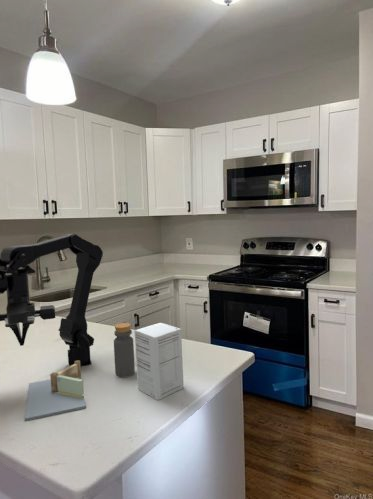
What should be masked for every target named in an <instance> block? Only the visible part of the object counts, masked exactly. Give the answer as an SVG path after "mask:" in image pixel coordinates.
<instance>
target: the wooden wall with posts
mask: <svg viewBox="0 0 373 499" xmlns="http://www.w3.org/2000/svg"><path fill="white" fill-rule="evenodd" d="M81 368H82V366H81V367H80V361H79V360H77V361H75V364H73V365H71V366H70V365H69V366H68V367H66V368H64V369H62V370H61V371H59V372H52V373H50V375H49V376H50V378H49V379H51V391H52V392H57V391H58V387H57V376H59V375H62V376H67V377H72V378H78V377H80V376H81V377H80V379H81V380H82V371H81V370H82V369H81Z"/></svg>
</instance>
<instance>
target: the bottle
mask: <svg viewBox="0 0 373 499" xmlns="http://www.w3.org/2000/svg"><path fill="white" fill-rule="evenodd" d="M131 326H132V325H131V323H128V322H122V323H121V322H120V323H117V324H115V325H114V328H115V330H114V336H115V338H114V339H113V352H114V353H113V354H114V372H115V376H116V377H118V378H128V377H131V376H133V375H134V374H136V372H135V371H136V368H135V367H136V365H135V364H136V363H135V348H134V347H135V345H134V338H133V337H132V336H131V335H132V334H133V333H132V331H133V330H132V329H131Z"/></svg>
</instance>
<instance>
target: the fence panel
mask: <svg viewBox="0 0 373 499" xmlns="http://www.w3.org/2000/svg"><path fill="white" fill-rule="evenodd" d="M57 387H58V391H61V392H65V393H70V394H74V395H78V396H82V395H84V394H85V389H84V387H85V386H84V379H82V378H81V379H77V378H72V377H67V376H62V375H59V376H57ZM84 396H85V395H84Z"/></svg>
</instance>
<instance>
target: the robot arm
mask: <svg viewBox="0 0 373 499" xmlns="http://www.w3.org/2000/svg"><path fill="white" fill-rule="evenodd" d="M66 249H68V250H69V251H70V252H71V254H74V255H76V258H75V262H76V265H77V274H76V275H77V276H76V279H75V280H76V281H75V285H74V290H73V295H72V300H71V304H70V309H69V313H68V315H67V316H66V317H65V318H63V317H62V318H60V325H59V329H58V330H57V331H59V337H60V339H61V340H62V341H64V343H65V345H66V346H69V349H67V362H68V365H69V367H70V366H71V365H73V364H75V361H77V360H79V361H80V367H81V368H82V367H85V366H92V360H91V348H90V347H92V346H93V345H94V342H95V338H94V337H93V336H91V335H90V334H89V333H88V323H87V319H86V312H87V307H88V303H89V302H88V301H89V297H90V294H91V293H90V292H91V287H92V282H93V277H94V273H95V271H96V270H97V269H98V268H99V266H100V264H101V262H102V259H103V254H104V252H103V250H102V247H100V245H97V244H94V243H93V242H90V241H88V240H85V239H84V238H82V237H81V236H79V235H78V234H76V233H66V234H64V235H61V236H59V237H58V236H57V237H54V238H51V239H48V240H43V241H40V242H36V243H33V244H23V245H22V244H20V245H19V244H18V245H9V246H5V247H3V248H2V251H1V253H0V295H3V294H5V292H6V303H7V305H6V308H5V309H6V313H0V322H5V325H4V327H5V328H10V330H12V332H13V333H14V335H15V338H16V339H17V342H18V344H19V346H20V347H21V346H22V347H23V346H24V344H25V341H26V338H27V332H28V330H29V328H30V325H33V324H35V320H36V319H35V318H37V317H40V318H41V319H42V320H44V321H46V320H52V319H53V320H54V319H55V318H56V307H55V305H53V304H50V305H41V306H39V309H37V310H36V308H35V307H36V306H35V302H31V300H30V298H31V297H30V296H31V295H30V287H29V285H30V284H29V275H30V274H35V273H36V270H35V269H33V268H32V267H31V266H30V264H32V263H34V262H35V261H36V260H38V259H39V258H41V257H43V256H44V257H45V256H47V255H51V254H54V253H57V252H60V251H64V250H66ZM20 323H21V324H22V326H21V327H22V329H21V327H20Z"/></svg>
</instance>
